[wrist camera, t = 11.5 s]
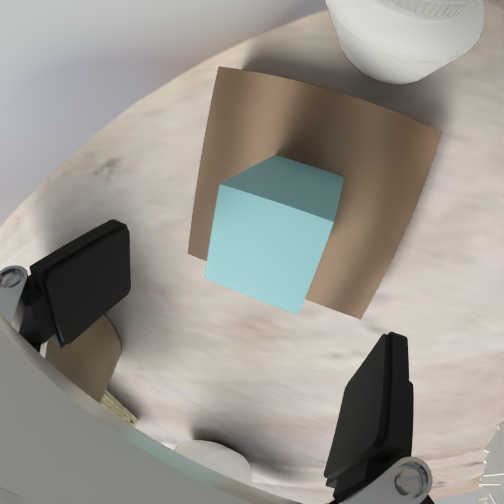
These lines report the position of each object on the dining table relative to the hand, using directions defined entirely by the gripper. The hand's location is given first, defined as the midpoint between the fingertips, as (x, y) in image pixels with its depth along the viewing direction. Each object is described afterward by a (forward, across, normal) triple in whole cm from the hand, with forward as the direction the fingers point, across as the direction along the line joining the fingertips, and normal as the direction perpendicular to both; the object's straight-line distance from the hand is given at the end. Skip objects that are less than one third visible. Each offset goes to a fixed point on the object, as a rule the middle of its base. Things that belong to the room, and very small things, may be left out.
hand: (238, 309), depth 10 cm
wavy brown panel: (+17, +1, 0) cm, 17 cm away
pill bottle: (+18, -2, -14) cm, 22 cm away
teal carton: (+13, +1, 0) cm, 13 cm away
